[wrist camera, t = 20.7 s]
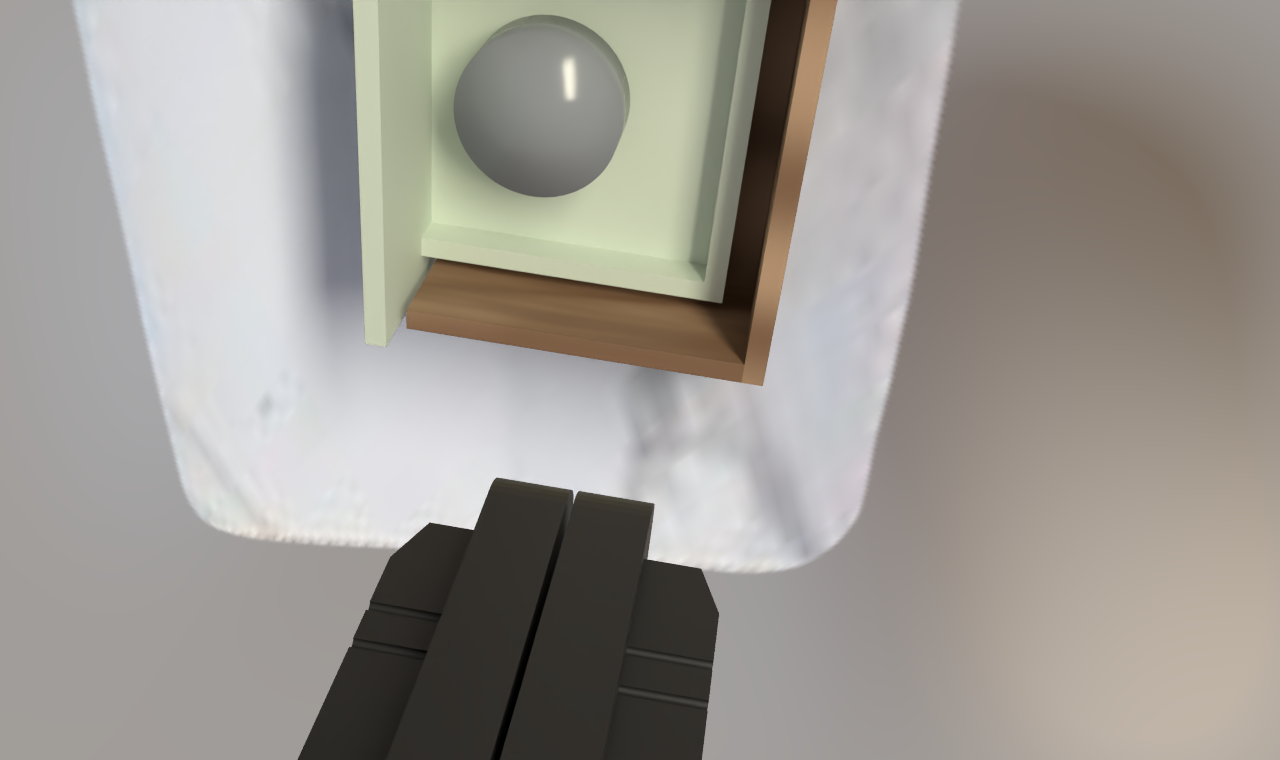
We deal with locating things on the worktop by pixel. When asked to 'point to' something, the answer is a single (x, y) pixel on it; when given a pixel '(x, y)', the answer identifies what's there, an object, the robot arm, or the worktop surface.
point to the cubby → (660, 323)
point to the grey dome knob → (542, 106)
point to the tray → (580, 221)
